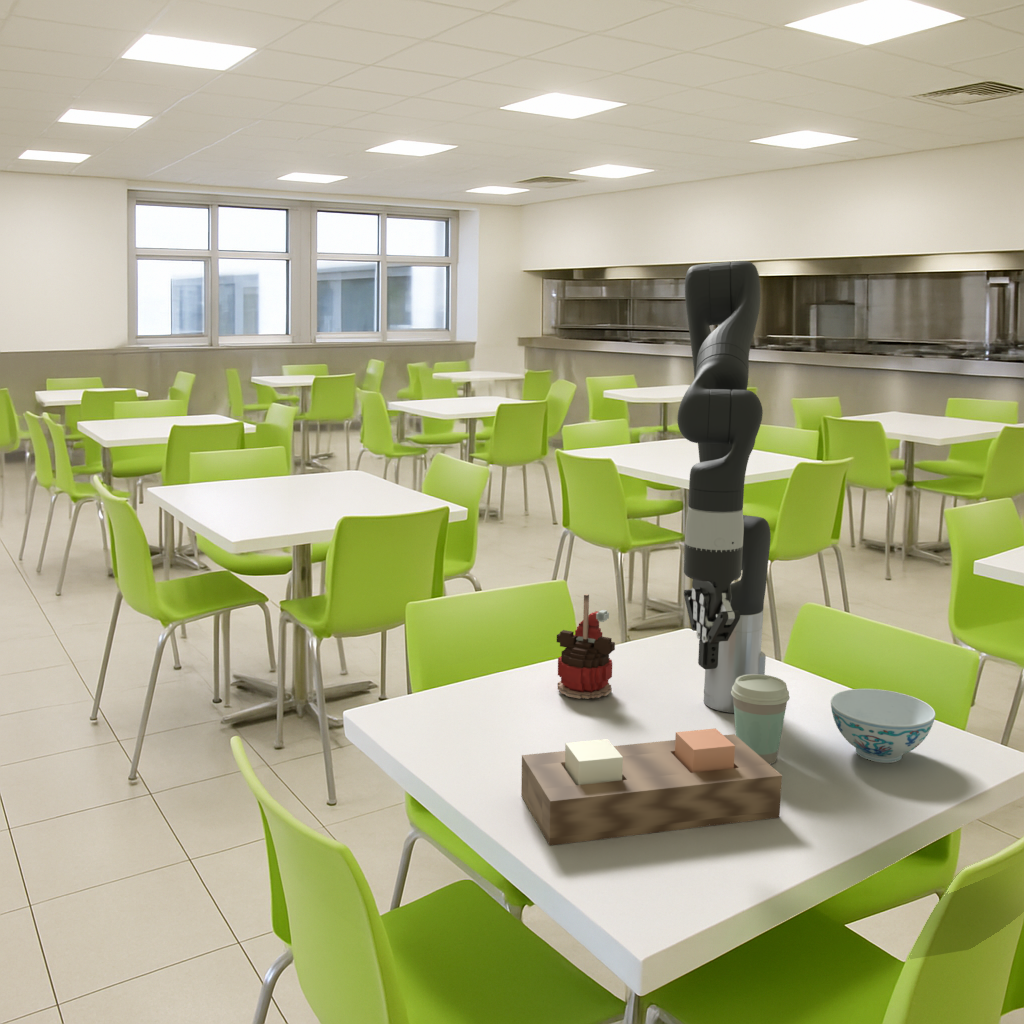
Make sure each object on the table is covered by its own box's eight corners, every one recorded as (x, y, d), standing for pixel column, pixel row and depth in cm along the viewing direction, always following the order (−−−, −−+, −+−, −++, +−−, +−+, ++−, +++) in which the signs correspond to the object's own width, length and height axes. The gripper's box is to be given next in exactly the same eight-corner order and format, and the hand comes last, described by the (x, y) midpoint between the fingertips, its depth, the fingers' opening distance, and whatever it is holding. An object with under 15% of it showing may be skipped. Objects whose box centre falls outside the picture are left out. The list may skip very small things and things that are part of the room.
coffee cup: (787, 750, 157) (792, 676, 154) (783, 773, 149) (788, 695, 146) (731, 742, 159) (735, 669, 157) (724, 764, 151) (728, 688, 149)
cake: (545, 695, 179) (547, 596, 175) (568, 679, 187) (570, 584, 184) (600, 706, 174) (603, 605, 170) (622, 689, 182) (625, 592, 178)
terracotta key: (714, 755, 143) (715, 728, 142) (733, 773, 137) (734, 745, 136) (674, 759, 141) (675, 732, 141) (692, 777, 136) (693, 749, 135)
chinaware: (950, 758, 154) (955, 710, 153) (894, 784, 145) (898, 733, 144) (864, 726, 166) (867, 682, 165) (807, 749, 157) (810, 702, 156)
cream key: (606, 766, 139) (607, 738, 138) (621, 785, 133) (622, 757, 132) (564, 770, 137) (565, 743, 137) (578, 790, 132) (579, 761, 131)
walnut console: (732, 772, 149) (734, 734, 148) (779, 817, 135) (782, 775, 134) (521, 795, 141) (521, 755, 140) (549, 845, 128) (550, 801, 127)
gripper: (763, 551, 128) (756, 681, 131) (718, 530, 141) (712, 650, 144) (709, 553, 126) (702, 686, 129) (667, 532, 139) (662, 653, 142)
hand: (707, 667), depth 137 cm, fingers closed
